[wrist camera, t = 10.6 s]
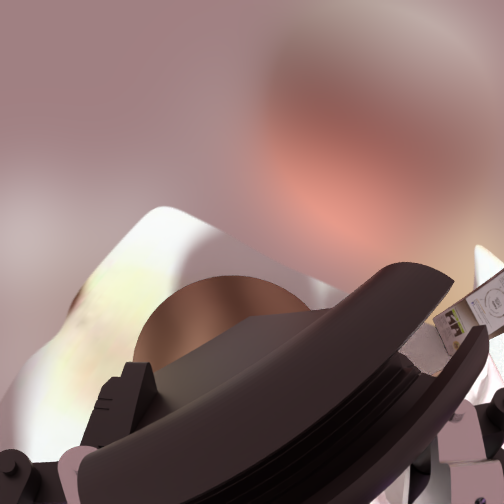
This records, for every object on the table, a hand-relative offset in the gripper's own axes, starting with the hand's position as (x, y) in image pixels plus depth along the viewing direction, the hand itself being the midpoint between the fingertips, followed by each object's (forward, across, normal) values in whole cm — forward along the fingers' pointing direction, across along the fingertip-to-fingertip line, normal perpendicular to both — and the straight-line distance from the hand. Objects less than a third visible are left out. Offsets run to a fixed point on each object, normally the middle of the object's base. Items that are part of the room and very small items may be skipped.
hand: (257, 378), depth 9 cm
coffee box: (+18, -32, +13) cm, 39 cm away
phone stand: (+3, 0, +5) cm, 6 cm away
